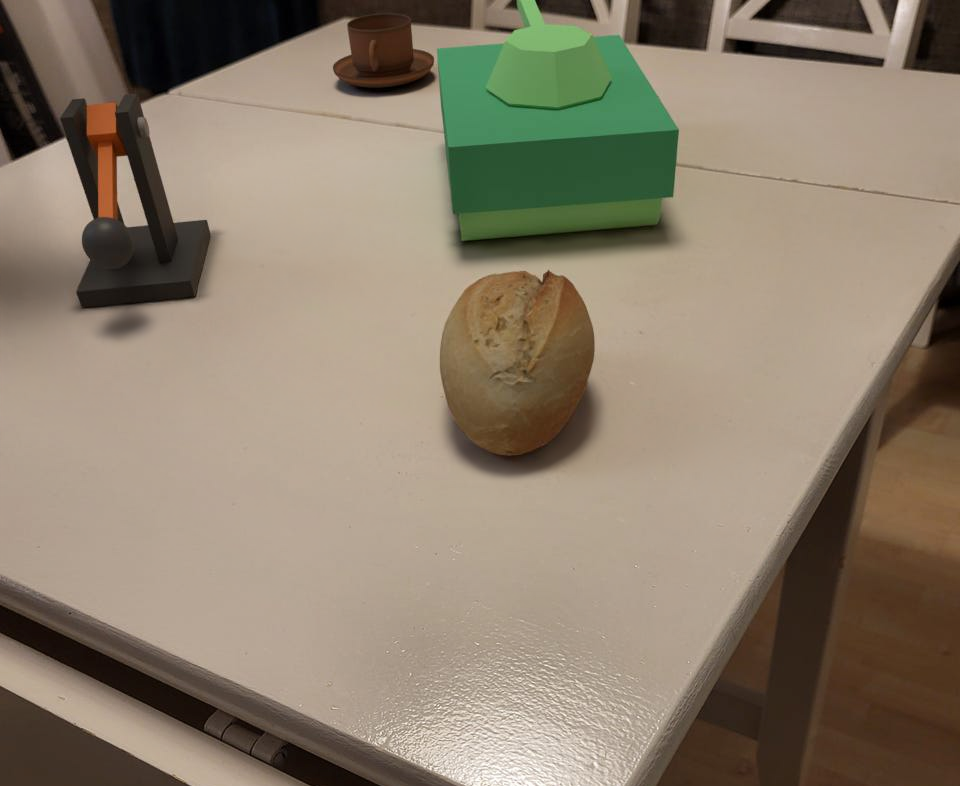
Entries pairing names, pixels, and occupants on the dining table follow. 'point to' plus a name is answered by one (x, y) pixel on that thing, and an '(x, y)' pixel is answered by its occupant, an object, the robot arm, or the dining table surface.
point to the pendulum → (106, 192)
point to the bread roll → (516, 359)
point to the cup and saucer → (382, 53)
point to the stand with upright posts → (157, 246)
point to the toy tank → (553, 133)
